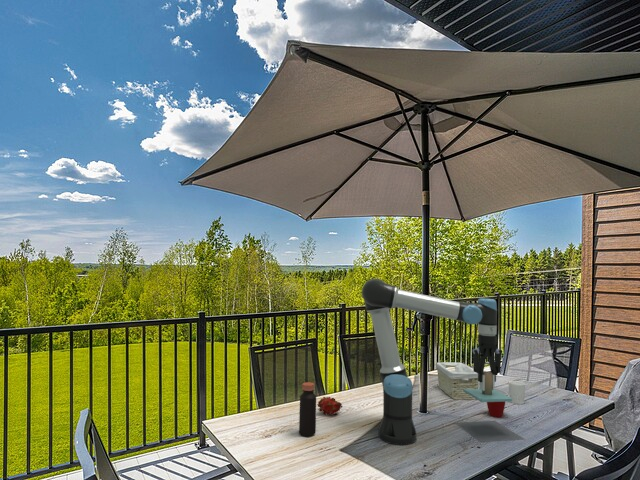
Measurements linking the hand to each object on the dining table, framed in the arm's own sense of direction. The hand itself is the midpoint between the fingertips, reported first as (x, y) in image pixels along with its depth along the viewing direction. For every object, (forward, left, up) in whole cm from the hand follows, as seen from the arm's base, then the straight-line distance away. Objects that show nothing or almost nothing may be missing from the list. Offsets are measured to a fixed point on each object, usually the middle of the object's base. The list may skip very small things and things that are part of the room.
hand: (486, 389), depth 169 cm
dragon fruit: (-63, +29, -18) cm, 71 cm away
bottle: (-77, +8, -18) cm, 79 cm away
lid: (0, 0, -3) cm, 3 cm away
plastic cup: (+15, +16, -18) cm, 28 cm away
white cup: (+39, +33, -18) cm, 54 cm away
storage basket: (+15, +51, -18) cm, 56 cm away
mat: (0, 0, -18) cm, 18 cm away
